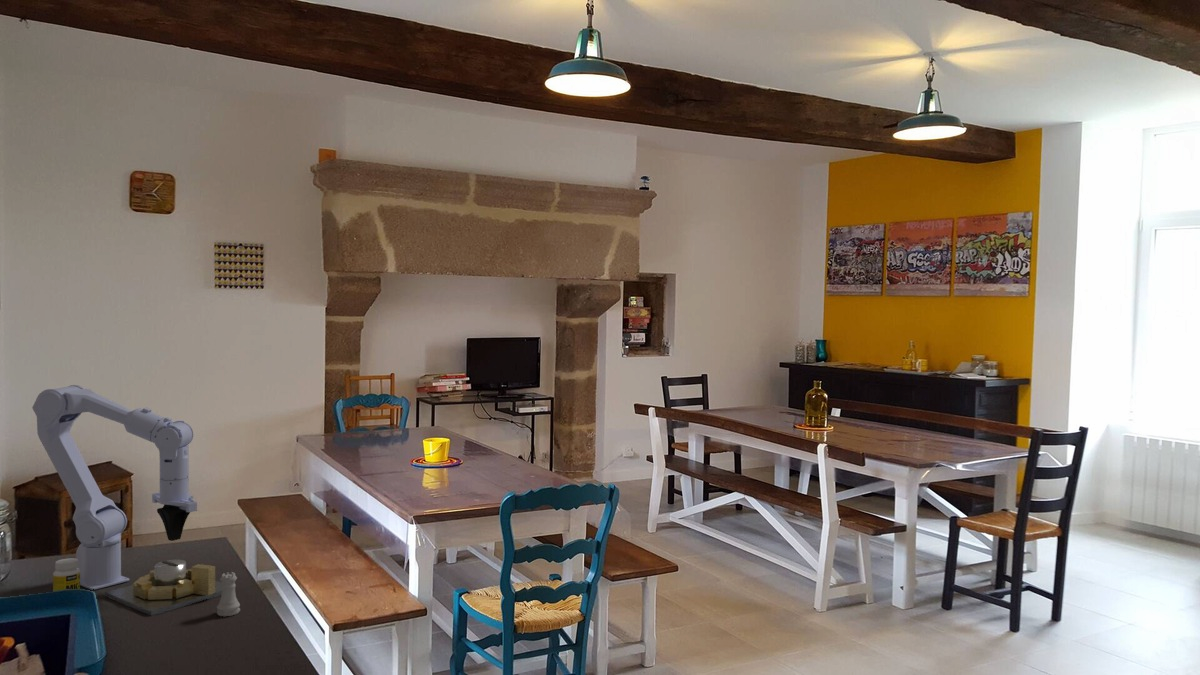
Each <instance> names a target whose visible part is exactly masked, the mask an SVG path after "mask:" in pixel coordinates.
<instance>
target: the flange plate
mask: <svg viewBox="0 0 1200 675" xmlns="http://www.w3.org/2000/svg"><path fill="white" fill-rule="evenodd" d="M186 569H187V562H186V560H183V559H167V560H162V561H159V562H156V563H155V564H154V570H155V586H174V585H177V581H181V580H185V579H186ZM221 586H222V582H221V581H218V580H215V593H213V594H211V595H209V596H208V595H200V594H190V595H186V596H183V597H179V598H175V597H173V598H172V599H154V600H148V599H143V598H140V597H138V596H136V595H133V584H131V585H127V586H123V587H120V588H115V589H111V590H107V591H105V592H104V595H105V596H107V597H110V598H112V599H114V600H116V601H115V602H117V601H118V602H117V603H119V602H120V603H119V604H122V603H123V604H122V605H124V604H125V605H124V606H126V605H127V607H129V606H130V607H129V608H131V607H132V609H133V608H134V610H136V611H139V612H141V613H143V614H145V613H146V615H149V616H150V617H152V616H156V615H159V614H162V613H167V612H168V611H169V612H170V611H172V610H176V609H180V608H183V607H186V606H191V605H193V604H196V602H197V603H199V602H202V601H203V600H204V601H206V599H207V600H210V598H211V599H213V597H214V598H218V597H221V595H222V588H221ZM107 597H106V598H107ZM110 598H109V599H110ZM112 599H111V600H112ZM114 600H113V601H114ZM204 601H203V602H204ZM192 603H193V604H192Z"/></svg>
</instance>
